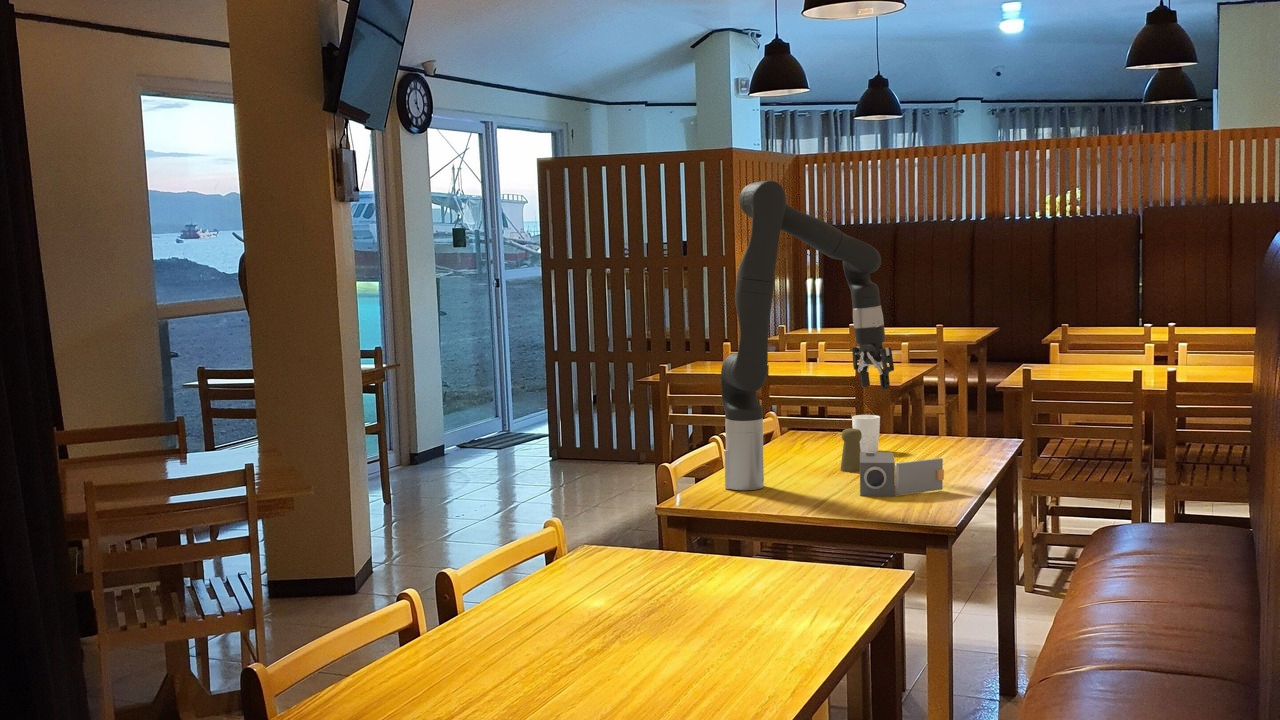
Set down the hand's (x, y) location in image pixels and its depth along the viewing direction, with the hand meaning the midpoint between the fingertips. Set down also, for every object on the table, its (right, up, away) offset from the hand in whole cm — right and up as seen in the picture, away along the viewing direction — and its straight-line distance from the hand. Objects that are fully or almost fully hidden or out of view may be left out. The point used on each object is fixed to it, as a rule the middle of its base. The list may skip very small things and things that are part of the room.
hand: (875, 387), depth 303 cm
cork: (-4, -22, +10) cm, 25 cm away
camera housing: (-3, -24, -16) cm, 29 cm away
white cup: (+5, -19, +38) cm, 43 cm away
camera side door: (+6, -24, -21) cm, 33 cm away
